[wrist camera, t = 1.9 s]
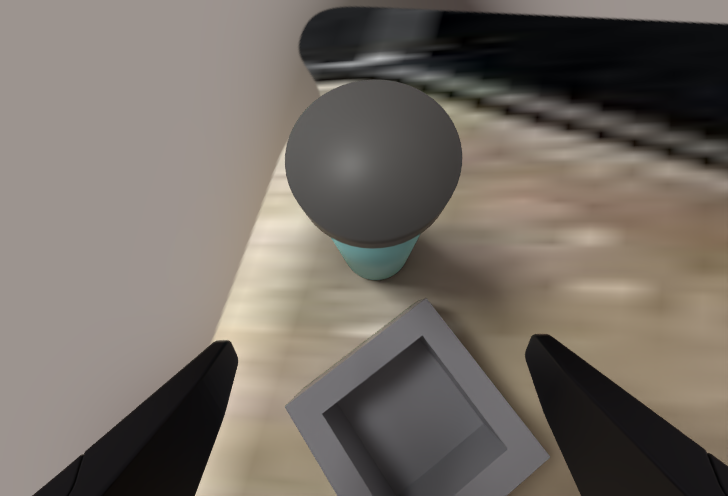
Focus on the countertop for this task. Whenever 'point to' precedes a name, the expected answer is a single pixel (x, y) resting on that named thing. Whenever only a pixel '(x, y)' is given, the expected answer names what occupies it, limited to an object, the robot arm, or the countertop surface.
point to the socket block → (414, 417)
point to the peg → (373, 170)
